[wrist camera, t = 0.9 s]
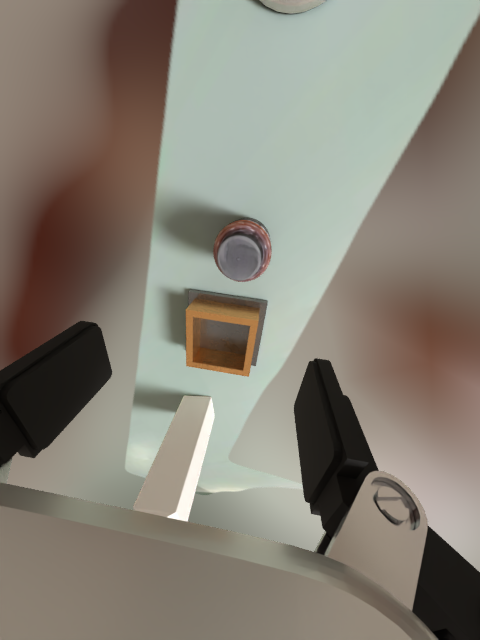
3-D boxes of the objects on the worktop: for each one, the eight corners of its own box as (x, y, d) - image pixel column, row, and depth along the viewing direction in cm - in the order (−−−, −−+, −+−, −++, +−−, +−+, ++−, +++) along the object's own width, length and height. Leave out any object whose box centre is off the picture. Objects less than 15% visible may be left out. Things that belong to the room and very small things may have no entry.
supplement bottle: (231, 267, 30) (213, 295, 20) (222, 222, 28) (196, 229, 18) (273, 260, 29) (275, 286, 19) (267, 213, 27) (267, 215, 17)
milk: (211, 396, 43) (166, 547, 24) (215, 416, 46) (177, 567, 27) (183, 394, 44) (116, 540, 25) (188, 414, 47) (132, 560, 27)
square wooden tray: (190, 289, 33) (178, 301, 28) (267, 300, 32) (267, 315, 28) (190, 351, 38) (180, 369, 34) (255, 362, 38) (254, 382, 33)
